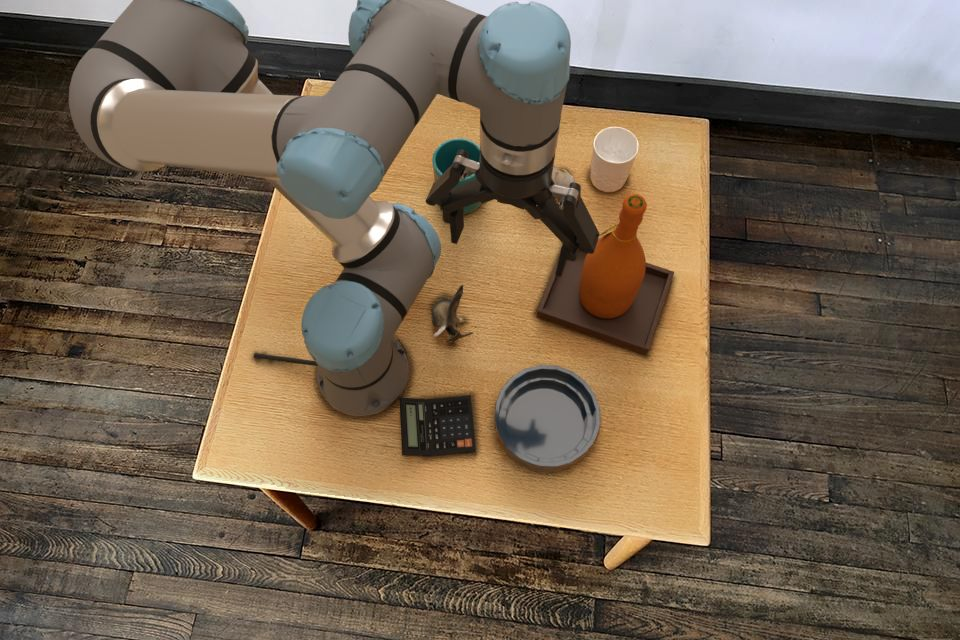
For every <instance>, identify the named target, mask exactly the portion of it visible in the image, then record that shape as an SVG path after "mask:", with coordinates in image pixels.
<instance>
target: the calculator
mask: <svg viewBox="0 0 960 640" xmlns="http://www.w3.org/2000/svg"><path fill="white" fill-rule="evenodd" d="M472 403H473V402H472V394H468V395H467V394H466V395H458V396H457V395H456V396H446V397H445V396H443V397H434V398H418V397H404V396H402V397H401V398H399V401H398V404H399V405H398V406H399V423H400V424H399V425H400V446H401V456H402V457H431V458H432V457H440V456H453V455H463V454H474V453H475V454H476V453H477V450H476V449H477V447H476V438H475V437H476V435H475V425H474V414H473V413H474V412H473V404H472Z"/></svg>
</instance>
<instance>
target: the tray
mask: <svg viewBox="0 0 960 640" xmlns="http://www.w3.org/2000/svg"><path fill="white" fill-rule="evenodd" d="M586 255H587V253H586V252H585V251H584V250H583V249H580V250H579V252H578V255H577V258H576V260H575V261H574V262H573V261H569V260H567V261H566V264H565V267H564V270H563V273H562V276H561V277H560V276H557V275H555V274H556V270H557V265H558V260H559V256H560V254H559V255H558V257H557V260H556V263H555V265H554V267H553V269H552V272H551V276H550V278H549V279H548V283H547V285H546V286H545V287H546V288H545V290H544V292H543V294H542V297H541V300H540V303H539V304H538V308H537V310H536V315H535V316H536V318H539V319H541V320H544V321H547V322H550V323H553V324H555V325H558V326H561V327H563V328H566V329H569V330H572V331H575V332H578V333H581V334H584V335H587V336H590V337H592V338H595V339H598V340H601V341H603V342H606V343H609V344H612V345H615V346H618V347H620V348H623V349H626V350H628V351H629V350H630V351H632V352H635V353H638V354H640V355H643V356H647V354H648V353H649V350H650V348H651V345H652V342H653V338H654V336H655V333H656V330H657V326H658V323H659V320H660V317H661V314H662V311H663V308H664V305H665V302H666V299H667V296H668V292H669V290H670V287H671V284H672V281H673V277H674V275H675V271H674V270H670V269H666V268H664V267H661V266H658V265H655V264H653V263H649V262H646V270H645V275H644V278H643V281H642V284H641V286H640V288H639V291H638V293H637V295H636V297H635V299H634V301H633V303H632V305H631V306H630V308H629V309H628V310H627V311H626V312H625V313H624V314H622V315H621V316H618V317H615V318H611V319H604V318H599V317H596V316H594V315H592V314H591V313H589V312H588V311H587V310H586V309H585V308H584V307H583V305H582V303H581V301H580V298H579V284H580V278H581V273H582V269H583V265H584V261H585V258H586Z"/></svg>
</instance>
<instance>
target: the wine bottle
mask: <svg viewBox="0 0 960 640" xmlns="http://www.w3.org/2000/svg"><path fill="white" fill-rule="evenodd" d="M621 206H622V207H621V210H620V212H619V214H618V220H619V222H618V223H616V224H615V225H610V228H608V229H606V230H605V231H603V232H602V233H601V234H600V235H599V238H598V242H597V245H596V248H595V251H594V253H592V254H589V253H587V255H586V258H585V261H584V265H583V269H582V273H581V278H580V284H579V298H580V301H581V303H582V305H583V307H584V308H585V309H586V310H587V311H588V312H589V313H591V314H592V315H594V316H596V317H599V318H604V319H611V318H615V317H618V316H621V315H622V314H624V313H625V312H626V311H627V310H628V309H629V308H630V306H631V305H632V303H633V301H634V299H635V297H636V295H637V293H638V291H639V288H640V286H641V284H642V281H643V278H644V275H645V270H646V263H647V261H646V255H645V254H646V253H645V251H644V248H643V246H642V243H641V241H640V240H639V238H638V237H637V235H638V228H639V226H640V225H641V224H642V222H643V219H644V214H645V212H646V210H647V208H648V207H647V201H646V199H645V197H644V196H643V195H640V194H638V193H632V194H629V195H627V196H625V198H624V199H623V201H622V205H621Z"/></svg>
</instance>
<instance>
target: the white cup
mask: <svg viewBox="0 0 960 640" xmlns="http://www.w3.org/2000/svg"><path fill="white" fill-rule="evenodd" d="M639 148H640V143H639V140H638V138H637V136H636V135H635V134H634V133H633V132H632V131H631V130H628V129H627V128H624V127H621V126H608V127H606V128H603V129H601V130H599V132H598V133H597V134H596V135H595V137H594V139H593V145H592V153H591V160H590V177H589V179H590V181H591V184H592V185H593V186H594V187H595V188H596V189H597V190H599V191H601V192H605V193H614V192H615V193H616V192H617V191H620V190H621V189H622V188H623V187H624V186H625V184H626V183H627V179H628V177H629V175H630V173H631V171H632V169H633V166H634V163H635V160H636V158H637V155H638V152H639Z"/></svg>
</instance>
